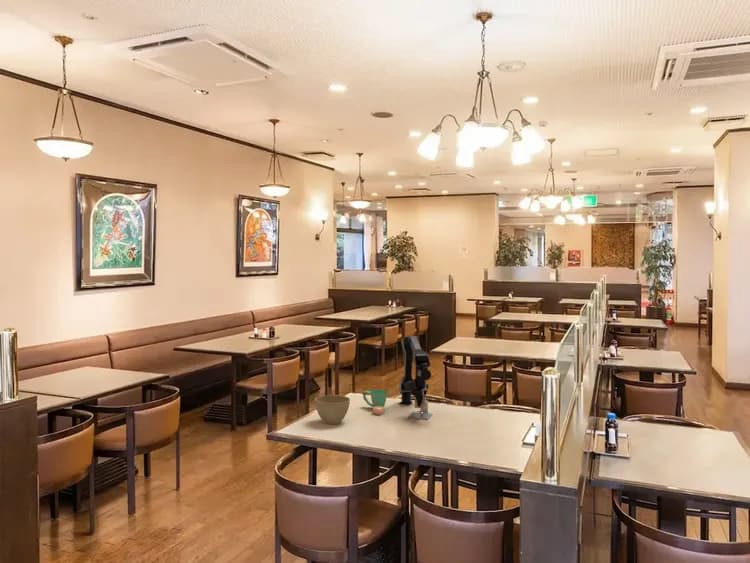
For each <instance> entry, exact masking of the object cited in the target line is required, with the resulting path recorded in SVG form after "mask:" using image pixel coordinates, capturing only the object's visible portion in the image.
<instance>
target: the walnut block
mask: <svg viewBox="0 0 750 563" xmlns="http://www.w3.org/2000/svg"><path fill="white" fill-rule="evenodd" d="M426 400H427V397H426V396H425V397H423V400H422V403H421V405H420V407H419V406H418V404H417V400H416V397H415V398H414V408H415V409H420V408H422V409H424V408H425V406H426Z"/></svg>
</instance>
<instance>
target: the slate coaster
mask: <svg viewBox="0 0 750 563" xmlns="http://www.w3.org/2000/svg"><path fill="white" fill-rule="evenodd" d="M432 415H433V413H431V412H430V413H429V412H428V413H420V412H418V411H412V412H411V413H410V414H409V415H408V416H407V419H412V418H413V420H414V419H415V420H422V421H423V420H426V421H428V420H430V418H431V417H432Z"/></svg>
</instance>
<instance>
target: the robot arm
mask: <svg viewBox="0 0 750 563" xmlns="http://www.w3.org/2000/svg"><path fill="white" fill-rule="evenodd" d="M418 339H419V338H418V336H417V335H409V336H406V337H403V338H402V339H400V340H401V341H400V342H401V347H402V349H403V351H404V360H403V362H404V363H403V376H402V377H401V378H400V383H399V385H398V389H397V390H398V393H399V394H401V401H400V402H399V404H400V403H401V404H402V405H411V404H412V403H413V401H414V400H412V396H414V397H415V398H416V400H417V404H418V406H419V407H420V405H421V403H422V400H423V397H426V396H427V393H428V390H430V384H429V383H427V382H426V381H429V380H430V379H431V377H432V373H431V371H430V370H429V369H428V368H431V367H430V366H431V362H430V361H431V360H430V358H429V355H428V354H427V353H426V351H424V350H423V349H422V348H421V345H420V342H419V340H418ZM413 365H414V367H415V370H414V377H415V378H414V379H413V377H412V376H413V375H412V373H413ZM401 404H400V405H401Z"/></svg>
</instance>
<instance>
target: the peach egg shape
mask: <svg viewBox="0 0 750 563" xmlns="http://www.w3.org/2000/svg"><path fill="white" fill-rule="evenodd" d="M384 409H385V406H384V407H382V406H374V407H372V415H373V414H374V415H375V416H383V415H384V413H385V410H384ZM374 415H373V416H374Z"/></svg>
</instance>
